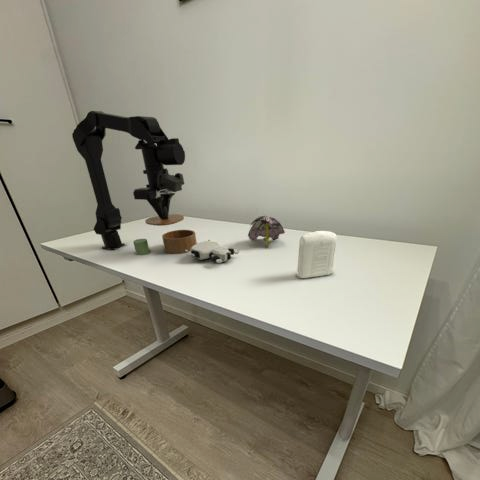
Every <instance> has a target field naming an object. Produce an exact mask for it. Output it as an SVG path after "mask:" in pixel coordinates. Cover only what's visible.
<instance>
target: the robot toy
mask: <svg viewBox="0 0 480 480" xmlns="http://www.w3.org/2000/svg"><path fill="white" fill-rule="evenodd" d="M185 251H186V253H188V254H189V255H190V256H191V257H192V258H195V259H197V260H199V261H202V260H208V259H212V261H213V262H214V264H221V263H223V262H227V261H228V260H231V258H232V256H234V255H238V254H239V250H237V249H236V250H235V249H234V248H227V247H223V246H220V243H218V242H215V241H211V240H210V239H208V240H204V241H200V242H197V244H195V245H194V246H192V247H191V249H190V252H189V251H187V250H185Z"/></svg>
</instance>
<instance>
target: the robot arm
mask: <svg viewBox="0 0 480 480" xmlns="http://www.w3.org/2000/svg"><path fill="white" fill-rule="evenodd" d="M106 129H109V130H113V131H118V132H124V133H127V134H129V135H130V136H131V137H133V138H135V139H138V141H137V143H136V145H135V147H134V149H135V150H141V154H142V160H143V164H144V168H145V169H143V170H142V173H143V175H146V178H147V183H148V184H145V186H146V187H140V188H135V189H134V190H133V192H132V195H133V199H134V200H140V201H141V200H142V201H143V200H144V201H147V203H148V204H149V205H150V206H151V208H152V209H153V211H155V213H156V214H157V216H159V217H160V218H163V210H162V206H166V208H167V213H168V214H170V206H171V205H170V204H171V199H172V198H173V197H174V196H175V195H176V193H177V192H181V191H182V190H183V188H182V186H183V185H185V178H184V175H183V173H180V172H176V173H175V174H170V173H169V169H168V168H165V166H182V165H184V164H185V160H186V152H185V150H184V147H183V146H182V144H181V143H180V140H179V138H178V137H177V138H176V137H175V138H174V137H173V138H168V136H167V135H166V133H165V131H163V128H162V127H161V126H160V123H159V121H158V119H157V118H156V117H154V116H143V115H136V116H122V115H117V114H112V113H106V112H103V111H102V110H101V111H100V110H99V111H98V110H90V111H89V112H87V115H86V116H85V117H84V119H82V120H81V121H80V122H79V123H78V124H77V125H76V127H75V128H74V129H73V132H72V133H71V135H72V136H71V137H72V140H73V143H74V145H75V148H76V151H77V152H78V154H79V155H80V156H81V157H82V158H83V159H84V161H85V165H86V168H87V172H88V175H89V179H90V182H91V186H92V189H93V193H94V197H95V200H96V210H95V219H96V222H95V224H94V227H93V231H94V232H95V234H96V235H100V236H101V239H102V242H103V246H102V247H101V249H103V250H112V251H113V250H116V249H119V248H120V247H123V246H125V243H123V242H122V239H121V235H120V234H119V230H121V229H122V228H121V227H122V225H121V224H122V220H123V218H122V216H121V215H122V214H121V210H120V208H119V207H116V206H115V205H114V204H113V202H112V198H111V194H110V190H109V185H108V183H107V178H106V174H105V170H104V166H103V161H102V157H103V152H104V147H103V146H104V145H103V141H104V138H105V137H106Z"/></svg>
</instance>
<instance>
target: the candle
mask: <svg viewBox="0 0 480 480" xmlns="http://www.w3.org/2000/svg"><path fill="white" fill-rule="evenodd" d="M132 243H133V247H134V249H135V254H136V255H139V256H140V255H141V256H142V255H147V254H149V253H150V252H151V250H150V246H149V242H148V239H147V238H138V239H135V240H133V241H132Z"/></svg>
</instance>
